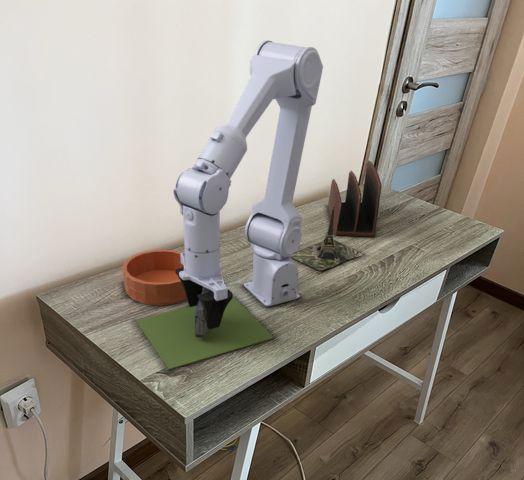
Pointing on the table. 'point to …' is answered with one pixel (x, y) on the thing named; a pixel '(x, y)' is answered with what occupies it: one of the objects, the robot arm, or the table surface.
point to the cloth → (196, 349)
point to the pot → (154, 277)
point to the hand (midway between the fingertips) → (203, 315)
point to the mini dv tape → (200, 319)
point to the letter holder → (356, 205)
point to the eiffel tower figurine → (326, 251)
